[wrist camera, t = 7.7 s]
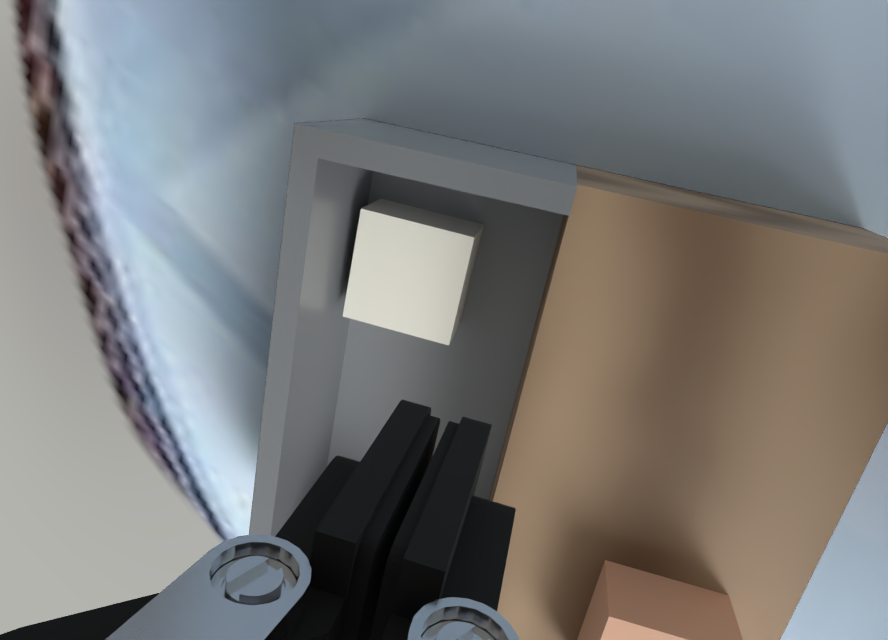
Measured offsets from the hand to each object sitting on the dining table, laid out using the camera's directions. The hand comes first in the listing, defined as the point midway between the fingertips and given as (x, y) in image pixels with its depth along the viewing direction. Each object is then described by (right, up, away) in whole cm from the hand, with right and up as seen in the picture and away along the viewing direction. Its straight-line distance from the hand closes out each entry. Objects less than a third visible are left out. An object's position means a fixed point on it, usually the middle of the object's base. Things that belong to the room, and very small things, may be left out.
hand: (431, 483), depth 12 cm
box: (-1, +1, +15) cm, 15 cm away
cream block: (-1, +4, +11) cm, 12 cm away
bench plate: (+8, -1, +14) cm, 16 cm away
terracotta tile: (+7, -7, +10) cm, 14 cm away
